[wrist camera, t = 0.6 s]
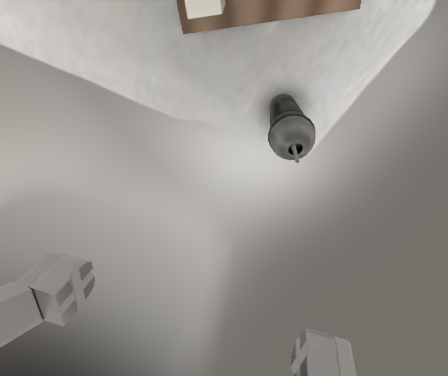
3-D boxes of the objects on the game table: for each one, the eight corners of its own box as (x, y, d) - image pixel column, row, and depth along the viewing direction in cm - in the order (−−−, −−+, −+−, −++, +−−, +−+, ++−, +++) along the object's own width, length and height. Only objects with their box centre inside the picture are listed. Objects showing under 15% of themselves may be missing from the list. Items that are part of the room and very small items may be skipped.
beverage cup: (273, 129, 54) (286, 195, 38) (256, 99, 50) (263, 159, 34) (308, 112, 51) (337, 175, 36) (292, 78, 47) (318, 134, 32)
